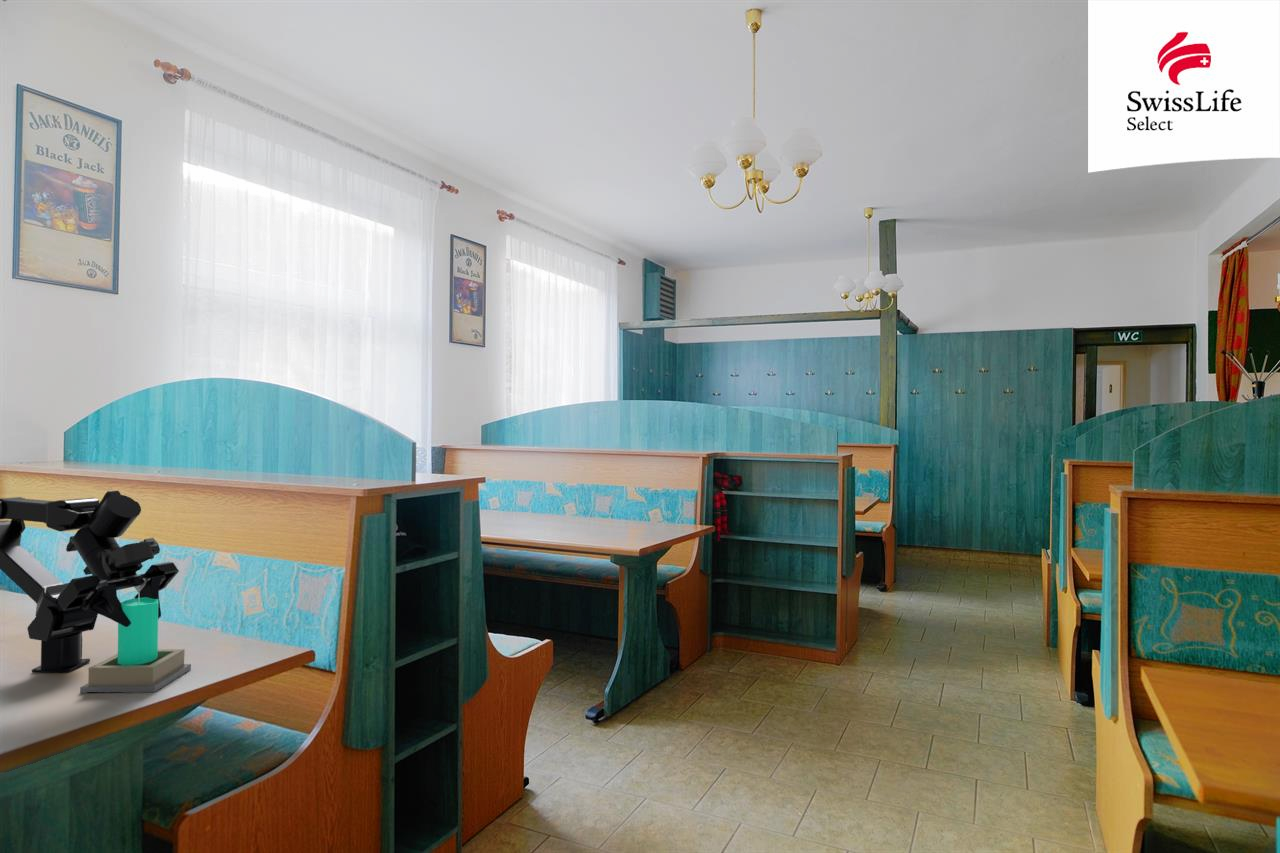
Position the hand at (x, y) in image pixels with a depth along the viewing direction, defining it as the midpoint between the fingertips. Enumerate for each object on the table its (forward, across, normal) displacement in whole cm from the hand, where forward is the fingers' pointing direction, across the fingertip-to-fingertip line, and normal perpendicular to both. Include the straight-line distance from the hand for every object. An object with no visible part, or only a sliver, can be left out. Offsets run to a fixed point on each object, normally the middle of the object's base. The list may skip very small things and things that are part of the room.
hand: (144, 621), depth 132 cm
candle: (+4, 0, +6) cm, 7 cm away
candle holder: (+7, 0, +8) cm, 11 cm away
